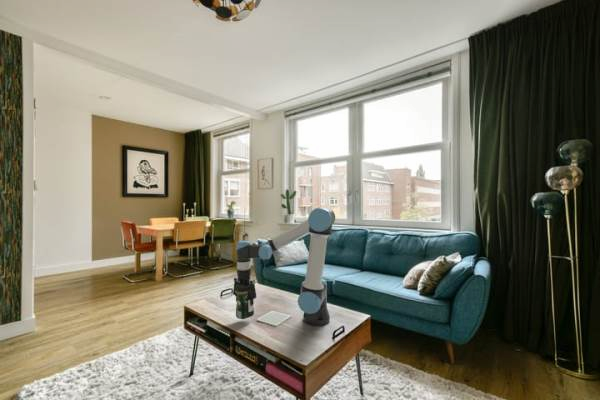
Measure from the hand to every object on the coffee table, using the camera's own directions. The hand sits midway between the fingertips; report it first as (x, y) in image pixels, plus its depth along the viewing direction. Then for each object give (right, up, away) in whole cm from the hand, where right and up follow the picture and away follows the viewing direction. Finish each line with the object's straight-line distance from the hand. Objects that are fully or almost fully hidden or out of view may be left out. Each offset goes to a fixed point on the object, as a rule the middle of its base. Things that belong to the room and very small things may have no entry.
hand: (244, 309), depth 152 cm
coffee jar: (0, -4, 0) cm, 4 cm away
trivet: (+16, -7, +4) cm, 18 cm away
